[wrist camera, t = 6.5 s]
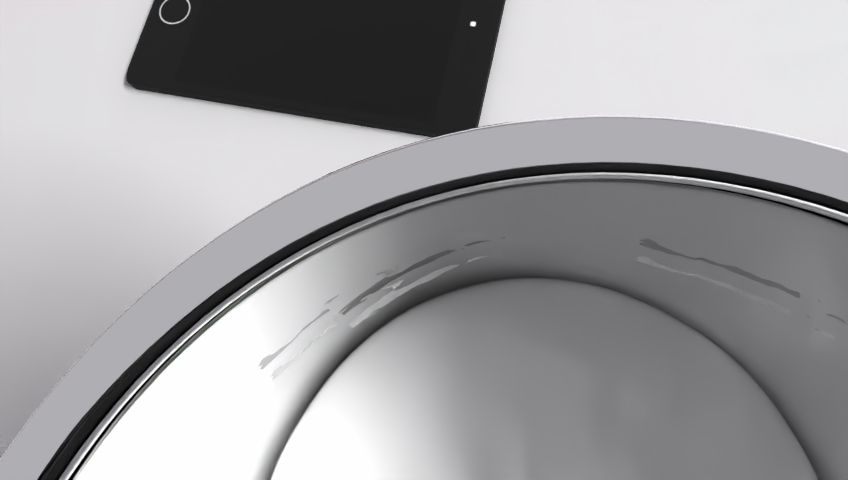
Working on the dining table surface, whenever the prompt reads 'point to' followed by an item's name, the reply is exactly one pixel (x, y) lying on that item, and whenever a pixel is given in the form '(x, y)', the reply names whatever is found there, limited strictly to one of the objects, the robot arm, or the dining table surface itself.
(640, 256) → the beer glass
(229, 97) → the cell phone
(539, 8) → the dining table surface
